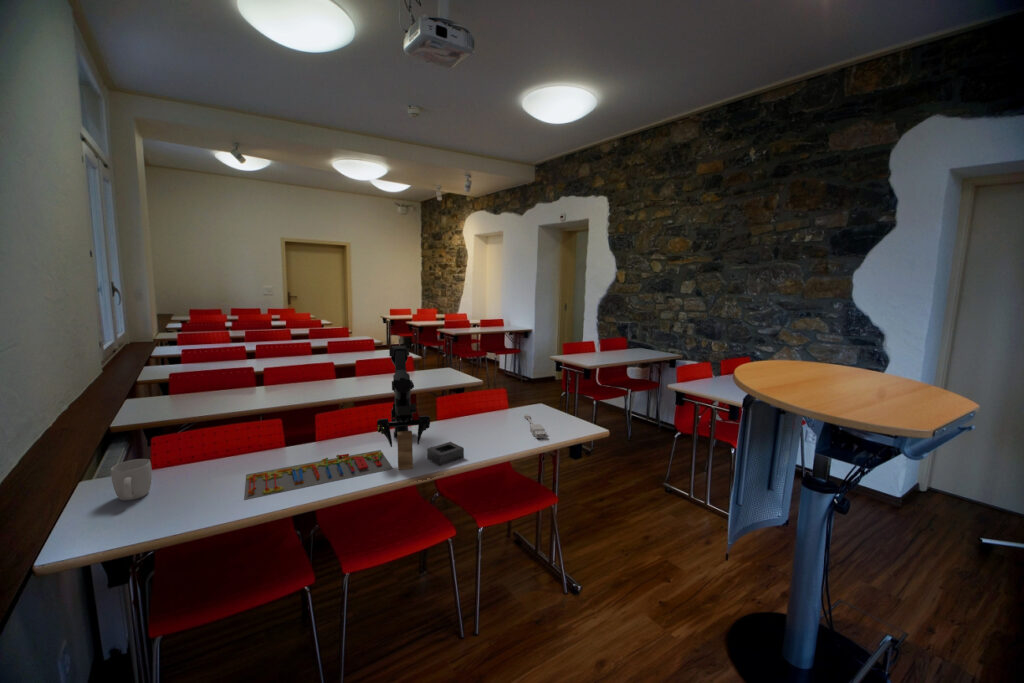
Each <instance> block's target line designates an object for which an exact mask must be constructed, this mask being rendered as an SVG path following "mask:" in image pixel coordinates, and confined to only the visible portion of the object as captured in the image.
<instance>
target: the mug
mask: <svg viewBox="0 0 1024 683" xmlns="http://www.w3.org/2000/svg"><path fill="white" fill-rule="evenodd" d="M152 469H153V468H152V463H151V460H150V459H149V458H148V459H147V458H137V459H130V460H126V461H122V462H119V463H117V464H115V465H114V466H112V467H111V469H110V475H111V483H112V487H113V489H114V492H115V495H116V497H117V498H118V499H119V500H120V501H125V502H126V501H127V502H128V501H133V500H137V499H141V498H143V497H145V496H146V495H148V494H149V491H150V490H151V486H152V479H153V477H152V475H153V473H152V472H153V471H152Z"/></svg>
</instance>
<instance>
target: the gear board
mask: <svg viewBox="0 0 1024 683" xmlns="http://www.w3.org/2000/svg"><path fill="white" fill-rule="evenodd" d="M389 470H394V467H393V466H392V465H391V463H390V462H389V460H388V459H387V457H386V456H385V454H384V452H383V451H382V450H381V449H378V450H374V451H373V450H372V451H369V452H368V451H367V452H362V453H356V454H349V453H344V454H336V458H328V457H326V458H323V459H321V460H317V461H313V462H307V463H301V464H297V465H290V466H286V467H281V468H274V469H268V470H264V471H259V472H257V471H256V472H252V473H246V475H245V483H244V484H245V487H244V495H243V496H244V498H243V501H246V500H252V499H255V498H261V497H266V496H271V495H275V494H279V493H280V494H281V493H284V492H285V493H287V492H290V491H294V490H299V489H305V488H308V487H313V486H318V485H319V486H320V485H322V484H324V485H325V484H328V483H334V482H338V481H341V480H346V479H347V480H348V479H351V478H352V479H353V478H356V477H362V476H366V475H371V474H376V473H380V472H385V471H386V472H387V471H389Z"/></svg>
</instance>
